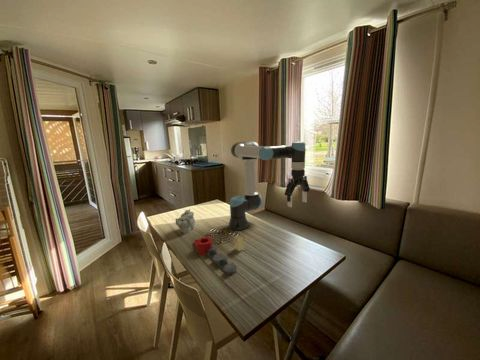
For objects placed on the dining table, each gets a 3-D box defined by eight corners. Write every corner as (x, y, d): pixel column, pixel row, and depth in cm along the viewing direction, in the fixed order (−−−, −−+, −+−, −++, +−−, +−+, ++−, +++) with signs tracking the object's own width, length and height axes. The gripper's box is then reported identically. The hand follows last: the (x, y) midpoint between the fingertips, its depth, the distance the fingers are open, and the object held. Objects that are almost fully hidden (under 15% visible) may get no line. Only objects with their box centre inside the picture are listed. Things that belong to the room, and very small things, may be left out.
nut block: (234, 249, 126) (234, 237, 125) (239, 247, 128) (239, 235, 127) (238, 251, 123) (237, 239, 121) (243, 249, 125) (243, 237, 124)
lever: (215, 251, 125) (215, 241, 124) (201, 256, 119) (201, 246, 118) (202, 240, 139) (201, 231, 138) (189, 245, 134) (188, 235, 132)
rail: (206, 254, 121) (206, 249, 120) (214, 252, 124) (214, 246, 123) (228, 275, 101) (227, 268, 101) (236, 271, 104) (236, 265, 104)
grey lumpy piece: (177, 238, 143) (175, 215, 140) (174, 231, 155) (172, 210, 152) (198, 233, 150) (196, 211, 146) (193, 227, 162) (192, 206, 158)
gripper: (288, 172, 107) (288, 210, 111) (316, 167, 122) (315, 201, 126) (278, 170, 113) (278, 207, 117) (305, 166, 128) (305, 198, 132)
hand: (297, 204), depth 122 cm, fingers open, 13 cm apart
